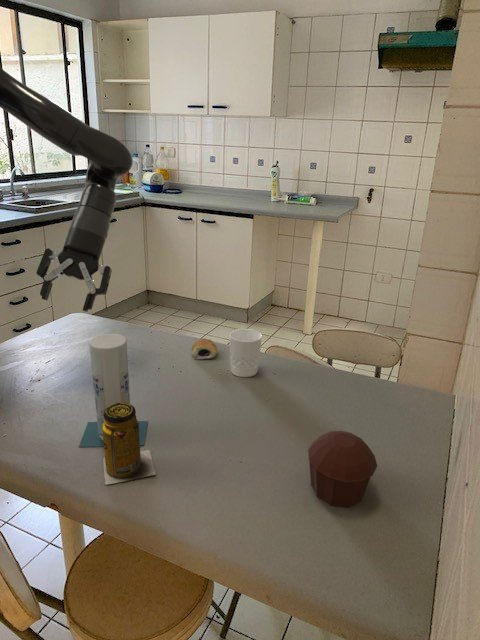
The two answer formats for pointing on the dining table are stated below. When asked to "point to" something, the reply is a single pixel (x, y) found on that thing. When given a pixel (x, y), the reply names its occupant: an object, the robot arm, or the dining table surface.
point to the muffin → (340, 468)
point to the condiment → (123, 446)
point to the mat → (94, 440)
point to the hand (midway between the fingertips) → (64, 305)
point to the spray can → (109, 373)
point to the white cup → (245, 352)
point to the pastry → (204, 349)
